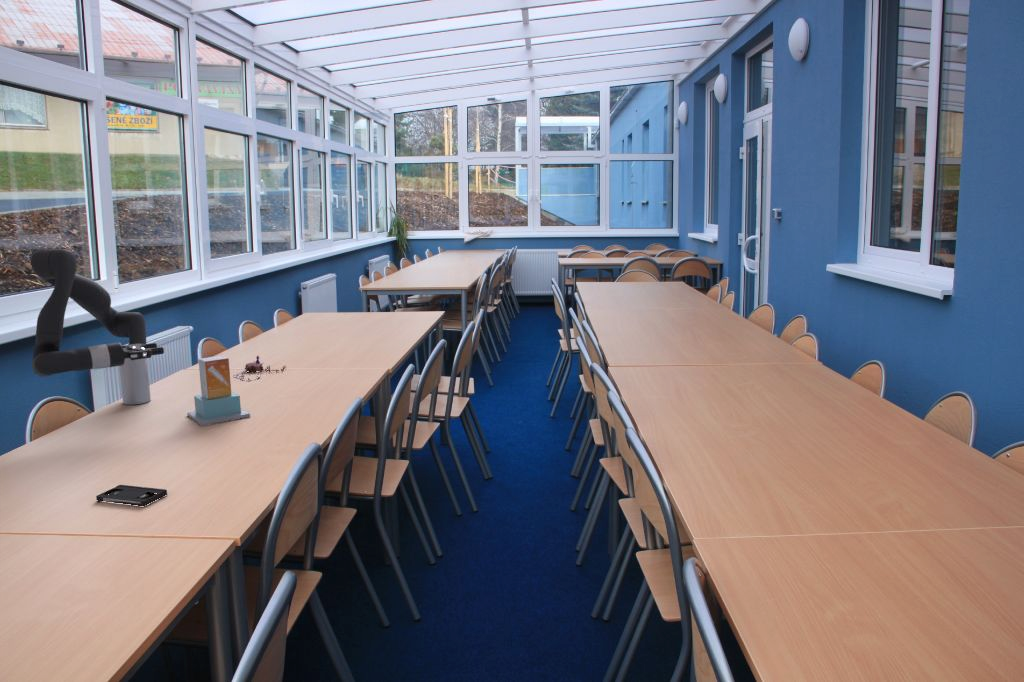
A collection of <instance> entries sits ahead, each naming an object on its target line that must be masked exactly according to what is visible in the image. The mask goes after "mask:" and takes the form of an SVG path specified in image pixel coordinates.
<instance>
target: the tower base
mask: <svg viewBox="0 0 1024 682" xmlns="http://www.w3.org/2000/svg"><path fill="white" fill-rule="evenodd" d="M240 398H241V397H240V395H239V394H238V393H236V392H234V391H233V390H231V396H224V397H218V398H212V399H206V398H204V397H203V396H202V394H198V395H197V394H196V395H194V396H193V399H194V409H195V410H192V411H188V412H186V415H188V416H189V418H190V419H191V418H192V419H191V420H193V421H194V422H195V421H196V422H195V423H197V424H198V425H199V424H200V425H199V426H200V427H203V425H205V426H209V425H208V424H210V425H214V424H213V423H215V424H219V423H218V422H221V423H224V422H223V421H226V422H230V421H229V420H231V421H236V420H235V419H237V420H241V419H240V418H242V419H246V418H245V417H247V418H251V413H250V412H249V411H247V410H245V409H243V408H241V399H240ZM188 416H187V417H188Z"/></svg>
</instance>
